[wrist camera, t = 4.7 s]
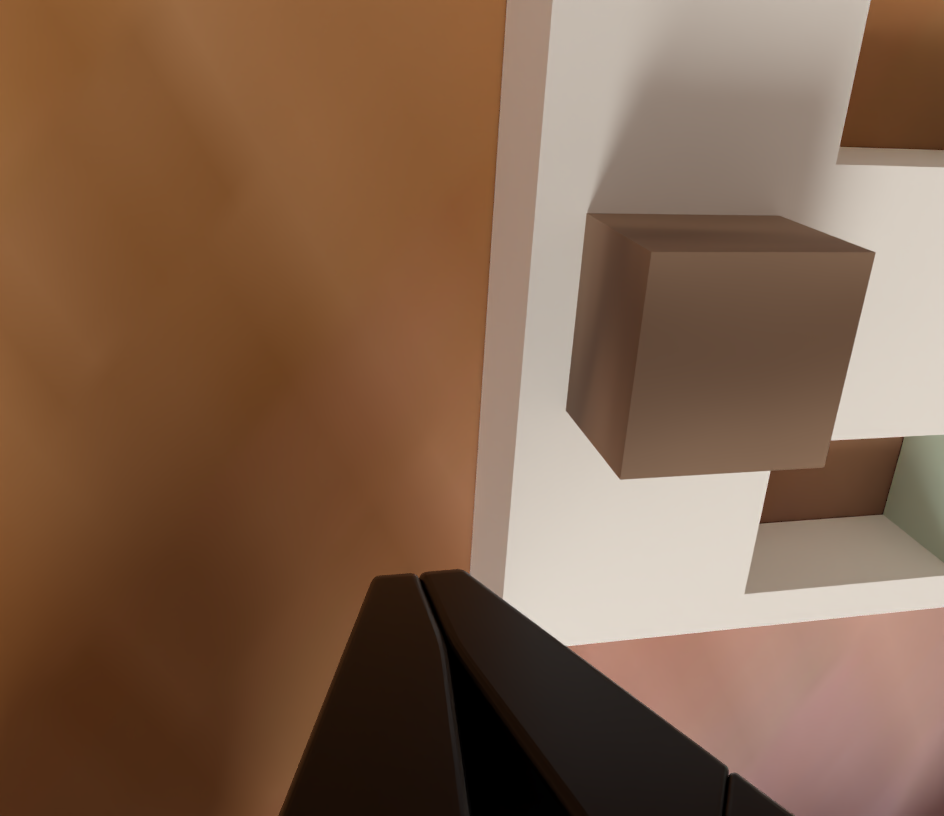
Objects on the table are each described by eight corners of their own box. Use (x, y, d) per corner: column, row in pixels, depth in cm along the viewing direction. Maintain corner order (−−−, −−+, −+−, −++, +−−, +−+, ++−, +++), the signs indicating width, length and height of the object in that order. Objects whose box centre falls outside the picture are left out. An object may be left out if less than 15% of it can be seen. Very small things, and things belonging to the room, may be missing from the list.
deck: (1046, 530, 27) (1204, 633, 22) (469, 578, 23) (522, 715, 18) (1262, -64, 20) (1542, -86, 16) (516, -143, 16) (613, -201, 12)
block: (743, 403, 19) (824, 467, 16) (565, 410, 18) (620, 479, 15) (779, 215, 17) (876, 252, 15) (586, 213, 16) (651, 252, 14)
